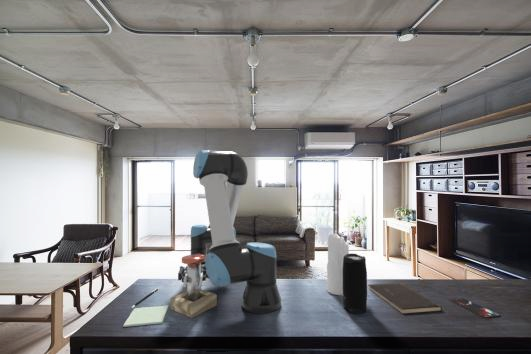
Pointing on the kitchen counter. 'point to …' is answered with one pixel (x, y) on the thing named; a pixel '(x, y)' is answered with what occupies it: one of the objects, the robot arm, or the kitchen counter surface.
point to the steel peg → (193, 275)
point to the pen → (145, 297)
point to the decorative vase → (335, 263)
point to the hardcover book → (404, 298)
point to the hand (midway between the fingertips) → (192, 282)
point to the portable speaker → (354, 283)
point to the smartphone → (474, 308)
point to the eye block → (193, 303)
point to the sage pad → (146, 316)
